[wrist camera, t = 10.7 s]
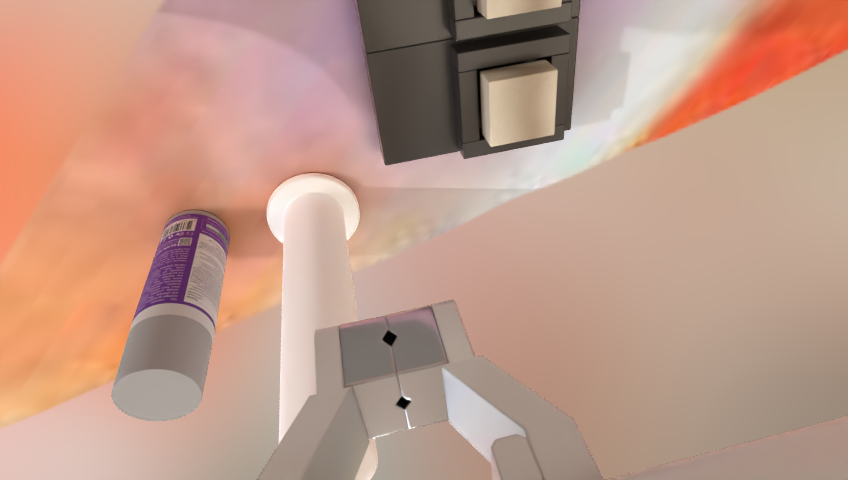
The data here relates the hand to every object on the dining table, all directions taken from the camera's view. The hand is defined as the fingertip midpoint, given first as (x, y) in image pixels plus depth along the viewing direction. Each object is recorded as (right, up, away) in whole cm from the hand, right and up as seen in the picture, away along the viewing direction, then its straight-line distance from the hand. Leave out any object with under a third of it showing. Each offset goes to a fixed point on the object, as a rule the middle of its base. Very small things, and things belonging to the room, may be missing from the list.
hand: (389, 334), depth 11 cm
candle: (-8, +4, +30) cm, 31 cm away
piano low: (+4, +13, +26) cm, 29 cm away
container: (-17, +2, +29) cm, 33 cm away
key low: (+7, +11, +23) cm, 27 cm away
